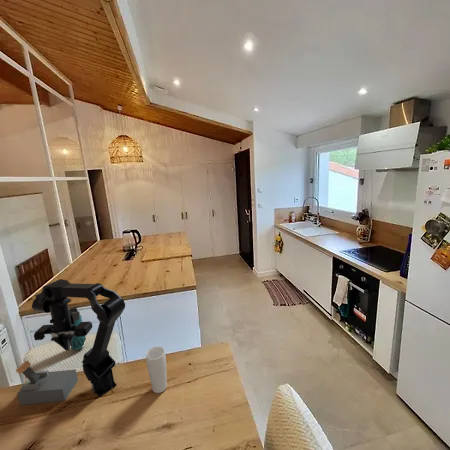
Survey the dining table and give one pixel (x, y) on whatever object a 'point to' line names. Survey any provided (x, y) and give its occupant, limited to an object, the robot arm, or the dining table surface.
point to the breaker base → (48, 387)
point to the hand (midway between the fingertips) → (68, 349)
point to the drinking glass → (157, 368)
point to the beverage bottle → (76, 341)
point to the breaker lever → (28, 372)
